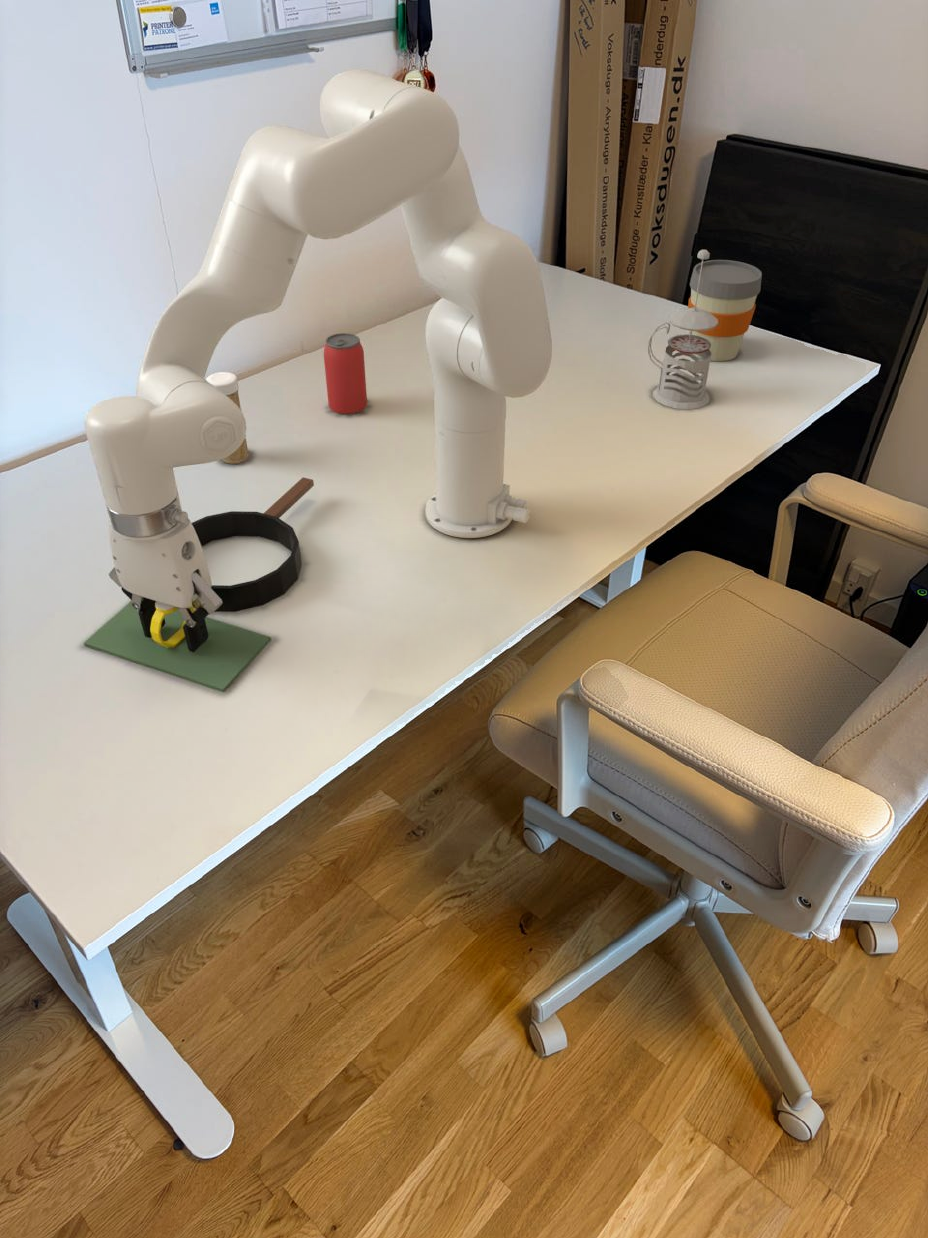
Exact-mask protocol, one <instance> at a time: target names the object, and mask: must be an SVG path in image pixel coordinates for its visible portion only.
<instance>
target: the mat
mask: <svg viewBox="0 0 928 1238" xmlns="http://www.w3.org/2000/svg"><path fill="white" fill-rule="evenodd" d="M131 603H132V600H130V601H129V602H128V603H127V604H126V605H125V606H124V607H123V608H121V609H120V610H119V611H117V613H116V614H115V615H113V617H111V618H110V619H109V620H108V621H107V622H105V623H104V624H103V625H102V626H101V627H100V628H99V629H98V630H96V631H95V632H94V633H93V634H92V635H91V636H90V637H89V638H87V639H86V640H85V641H84V642H83V645H84V647H87V648H90V649H93V650H96V651H98V652H102V653H105V654H108V655H111V656H114V657H117V658H120V659H123V660H125V661H129V662H131V663H135V664H138V665H141V666H144V667H146V668H150V669H153V670H155V671H159V672H162V673H165V674H168V675H170V676H172V677H173V676H174V677H176V678H180V679H183V680H185V681H189V682H191V683H194V684H198V685H201V686H204V687H207V688H209V689H212V690H214V691H215V690H216V691H218V692H222V693H225V692H226V691H227V690H228V688H229V687H230V686H231V685H232V684H233V683H234V682H235V681H236V680H237V679H238V678H239V676H240V675H241V674H242V673H243V672H244V671H245V670H246V669H247V668H248V667H249V665H250V664H251V663H252V662H253V661H254V660H255V659H256V658H257V657H258V656H259V655H260V653H261V652H262V651H263V650H264V649H265V648H266V647H267V646H268V644H269V643H270V642H271V641H272V637H271V636H269V635H265V634H262V633H259V632H255V631H253V630H249V629H247V628H243V627H240V626H237V625H232V624H230V623H226V622H224V621H220V620H217V619H214V618H211V617H208V616H206V617H205V622H206V627H207V631H208V639H207V640H206V641H205V642H204V643H203V644H202V645H201V646H200V647H199V648H198V649H197V650H196V651H195V652H191V651H189V649H188V647H187V643H186V638H184V639H183V640H181V641H180V642H179V643H178V644H177V645H176V646H175V647H171V648H167V647H164V646H162V645H160V644H158V643H157V642H155V641H154V640H153V639H152V637H151V638H148V637H145V635H144V632H143V628H142V624H141V621H140V617H139V613H138V612H139V610H135V609H134V608H133V607H132V604H131ZM164 619H165V625H164V626H163V627H162V628H161V631H160V633H161V637H162V640H163V641H168V640H169V639H170V638H171V637H172V636H173V635H174V634H175V633H176V632H178V631H179V630H180V629H181V627H182V625H183V622H184V618H183V617H182V615H181V613H180V611H179V609H177V610H176V611H175V612H173V613H169V614H166V615H165V617H164Z"/></svg>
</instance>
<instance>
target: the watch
mask: <svg viewBox="0 0 928 1238" xmlns="http://www.w3.org/2000/svg"><path fill="white" fill-rule="evenodd" d="M155 607H156V611H155V613H154V615H153V617H152V620H151V627H150V629H151V630H150V632H151V635H152V639H153V640H154V641H155V642H157V643H158V644H160V645H162V646H164V647H167V648H171V647H175V646H176V645H177V644H178V643H179V642H180V641H181V640H183V639H184V638H185V634H184V630H183V626H184V624H185V623H186V622H185V620H184V622H183V625H182V627H181V629H180V630H179V631H178V632H176V633H175V634H174V635H173V636H172V637H171V638H170V639H169V640H168V641H163V640H162V637H161V633H160V631H161V624H162V621H163V619H164V617H165V615H166V614H169V613H173V612H175V611H176V610H177V609H178V608H177V607H175V606H172V605H168V604H165V603H161V602H158V601H156V603H155ZM189 608H190V610H191V612H192V613H193V612H194V611H195V610H196V609H195V608H194V607H193V605H192V606H191V607H189Z"/></svg>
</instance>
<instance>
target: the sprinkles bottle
mask: <svg viewBox="0 0 928 1238" xmlns="http://www.w3.org/2000/svg"><path fill="white" fill-rule="evenodd" d="M205 380H206V381H208V382H209V383H210V384H212V385H213V386H214V387H215V388H216V389H218V390H219V391H221V392H222V393H223V394H225V395H226V396H227V397H229V398H230V399H231V400H232V401H233V402H234V403H235V404H236V405H237V406H238V407H239V408H240V410H241V411H242V408H241V403H240V397H239V380H238V377H237V375H236V374H234V373H232V372H228V371H220V372H219V371H218V372H215V373H212V374H210V375H208V376H207V377H206V379H205ZM246 434H247V433H246ZM246 434H245V438H244V440H243V442H242V444H241V446H240V447H239V448H238V449H237V450H236V451H235V452H234V453H232V454H231V455H229V456H227V457H226V458H223V459H220V461H222V462H224V463H226V464H232V465H234V464H240V463H243V462H245V461H246V460H248V459H249V457H250V451H249V448H248V441H247V435H246Z"/></svg>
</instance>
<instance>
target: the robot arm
mask: <svg viewBox="0 0 928 1238" xmlns="http://www.w3.org/2000/svg"><path fill="white" fill-rule="evenodd" d="M319 115H320V120H321V124H322V127H323V129H324V132H325V134H326V136H327V138H324V137H321V136H318V135H315V134H313V133H310V132H307V131H304V130H301V129H298V128H296V127H295V128H294V127H290V126H284V125H268V126H264V127H261V128H259V129H257V130H256V131H255V132H253V133H252V134H251V135H250V136H249V137H248V140H247V141H246V142H245V144H244V146H243V148H242V151H241V152H240V155H239V159H238V161H237V164H236V167H235V171H234V173H233V175H232V179H231V182H230V184H229V187H228V190H227V193H226V196H225V199H224V201H223V205H222V207H221V211H220V214H219V216H218V220H217V222H216V225H215V228H214V231H213V234H212V237H211V240H210V242H209V245H208V248H207V251H206V254H205V256H204V260H203V262H202V265H201V267H200V269H199V271H198V272H197V274H196V275H195V276H194V277H193V278H192V279H191V280H190V281H189V282H188V283H187V284H186V285H184V287H183V288H182V289H181V290H180V291H179V293H178V294H177V295H176V296H175V297H174V298H173V300H172V301H171V302H170V303H169V304H168V306H167V307H166V308H165V309H164V311H163V312H162V314H161V315H160V316H159V318H158V320H157V322H156V324H155V326H154V327H153V330H152V332H151V334H150V338H149V341H148V343H147V346H146V349H145V352H144V355H143V358H142V361H141V364H140V367H139V372H138V375H137V381H136V388H135V389H136V390H135V391H136V392H135V395H136V396H134V395H122V396H115V397H111V398H107V399H104V400H101V401H99V402H97V403H96V404H94V405H93V406H92V407H91V408H89V410H88V411H87V413H86V415H85V418H84V429H85V430H84V431H85V436H86V439H87V442H88V445H89V450H90V453H91V456H92V459H93V463H94V467H95V471H96V474H97V478H98V481H99V485H100V489H101V492H102V495H103V499H104V503H105V506H106V510H107V513H108V517H109V521H108V532H109V534H108V535H109V544H110V550H111V555H112V561H113V565H114V567H113V568H112V569H111V570H110V572H109V573H108V576H109V578H110V579H111V580H112V581H113V582H114V583H115V584H116V585H117V586H118V587H120V589H121V591H122V593H123V594H124V595H125V596H126V597H127V598H128V599H129V600H130V601H132V603H131V604H132V607H133V608H134V609H135V610H139V612H138V613H139V617H140V621H141V624H142V628H143V632H144V635H145V637H148V638H151V637H152V635H151V632H150V630H151V629H150V627H151V620H152V617H153V615H154V613H155V611H156V607H155V603H156V601H158V602H161V603H165V604H168V605H172V606H175V607H177V608H178V609H179V611H180V613H181V615H182V617H183V618H184V620H185V622H186V623H185V624H184V626H183V630H184V634H185V638H186V643H187V647H188V649H189V651H191V652H195V651H196V650H197V649H198V648H199V647H200V646H201V645H202V644H203V643H204V642H205V641H206V640H207V639H208V631H207V627H206V622H205V617H208V616H209V615H211V614H213V613H215V612H214V611H215V610H217V609H218V608H219V607H220V606H221V605H222V604H223V602H222V600H221V599H220V597H219V596H218V595H217V594H216V593H215V592H214V591H213V590H212V589H211V587H212V578H211V573H210V570H209V565H208V563H207V559H206V556H205V553H204V549H203V546H201V544H200V541H199V538H198V536H197V534H196V532H195V529H194V527H193V525H192V524H191V523H192V522H191V520H190V519H189V515H188V512H186V511H184V510H183V508H182V504H181V499H180V494H179V490H178V485H177V481H176V476H175V473H174V468H181V467H187V466H194V465H203V464H209V463H212V462H213V463H214V462H217V461H221V459H223V458H226V457H227V456H229V455H231V454H232V453H234V452H235V451H236V450H237V449H238V448H239V447H240V446H241V444H242V442H243V440H244V438H245V434H247V422H246V418H245V416H244V412H242V411H243V410H242V409H241V410H240V408H239V407H238V406H237V405H236V404H235V403H234V402H233V401H232V400H231V399H230V398H229V397H227V396H226V395H225V394H223V393H222V392H221V391H219V390H218V389H216V388H215V387H214V386H213V385H212V384H210V383H209V382H208V381H206V379H205V377H206V374H207V371H208V368H209V365H210V362H211V359H212V357H213V354H214V353H215V350H216V348H217V346H218V344H219V343H220V341H221V340H222V339H223V337H224V336H225V335H226V334H227V332H229V330H230V329H232V328H233V327H234V326H235V325H237V324H238V323H239V322H242V321H244V320H247V319H249V318H252V317H256V316H259V315H263V314H267V313H271V312H274V311H276V310H277V309H279V308H280V307H281V306H282V304H283V302H284V299H285V298H286V294H287V291H288V289H289V285H290V282H291V280H292V277H293V275H294V272H295V269H296V267H297V264H298V262H299V259H300V256H301V254H302V251H303V248H304V246H305V243H306V240H307V238H308V235H309V236H311V237H312V238H316V239H321V240H333V239H339V238H341V237H344V236H346V235H349V234H352V233H354V232H356V231H358V230H360V229H361V228H363V227H365V226H367V225H369V224H371V223H373V222H375V221H376V220H378V219H380V218H381V217H383V216H385V215H386V214H388V213H389V212H391V211H392V210H395V209H396V208H397V207H400V210H401V213H402V218H403V222H404V225H405V229H406V233H407V237H408V240H409V243H410V244H409V245H410V247H411V251H412V255H413V260H414V263H415V266H416V270H417V273H418V275H419V278H420V280H421V281H422V283H423V285H424V286H425V287H426V288H427V289H428V290H429V291H431V292H432V293H434V294H435V295H436V296H438V297H440V299H439V300H437V302H436V303H435V304H434V305H433V306H432V308H431V310H430V311H429V314H428V317H427V319H426V324H425V329H424V330H425V331H424V332H425V333H424V335H425V336H424V341H425V348H426V355H427V358H428V363H429V367H430V373H431V377H432V378H431V380H432V386H433V389H432V390H433V407H434V408H433V409H434V416H433V417H434V420H433V421H434V424H433V425H434V466H435V467H434V469H435V471H434V473H435V492H434V494H433V495H431V496H430V497H429V499H428V500H427V501H426V503H425V509H424V510H425V512H424V513H425V518H426V520H427V523H428V524H429V525H430V526H431V527H432V528H434V529H435V530H436V531H437V532H440V533H442V534H444V535H447V536H449V537H450V536H451V537H455V538H461V539H462V538H463V539H478V538H485V537H488V536H489V537H490V536H492V535H495V534H497V533H500V532H501V531H503V530H504V529H506V528H507V527H509V525H510V524H511V523H512V521H516V522H520V523H522V524H523V523H524V524H527V523H528V521H529V518H530V515H531V514H530V513H531V512H530V509H528V508H527V507H528V500H525V499H521V498H516V497H515V498H514V497H513V495H511V494H510V493H511V492H510V490H511V489H510V488H511V485H509V484H507V483H504V477H505V476H504V473H505V472H504V471H505V445H506V417H507V398H513V399H519V398H524V397H526V396H529V395H531V394H533V393H534V392H535V391H537V390H538V389H539V388H540V387H541V385H542V384H543V383H544V382H545V380H546V377H547V376H548V373H549V371H550V368H551V363H552V358H553V357H552V356H553V341H552V340H553V339H552V333H551V326H550V320H549V313H548V307H547V301H546V295H545V289H544V283H543V277H542V272H541V268H540V265H539V262H538V260H537V257H536V255H535V253H534V252H533V250H532V249H531V247H530V246H529V244H528V243H527V242H526V241H525V240H524V239H523V238H521V237H520V236H519V235H516V234H515V233H513V232H512V231H509V230H506V229H504V228H501V227H499V226H496V225H495V224H492V223H490V222H489V221H488V220H487V219H486V218H485V217H484V216H483V213H482V211H481V209H480V206H479V202H478V198H477V194H476V190H475V186H474V183H473V180H472V175H471V172H470V168H469V165H468V161H467V159H466V156H465V155H464V152H463V150H462V148H461V146H460V129H459V122H458V118H457V116H456V114H455V112H454V110H453V108H452V107H451V106H450V104H449V103H448V102H447V101H446V99H444V98H443V96H442V97H441V95H439V94H437V93H436V92H433V91H431V90H429V89H428V88H424V87H421V86H417V85H414V84H410V83H406V82H402V81H398V80H397V79H395V78H393V77H390V76H388V75H385V74H382V73H379V72H376V71H371V70H366V69H348V70H345V71H342V72H340V73H337V74H336V75H334V76H332V77H331V78H330V79H329V80H328V81H327V83H326V84H325V85H324V86H323V89H322V91H321V94H320V97H319ZM192 603H193V605H194V607H195V608H194V607H193V608H194V610H195V611H194V612H193V613H192V612H191V610H190V608H189V607H191V606H192ZM164 625H165V619H163V621H162V624H161V628H162V627H163V626H164Z"/></svg>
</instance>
